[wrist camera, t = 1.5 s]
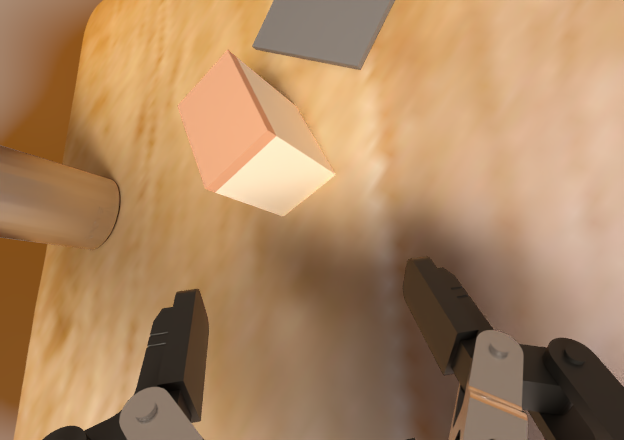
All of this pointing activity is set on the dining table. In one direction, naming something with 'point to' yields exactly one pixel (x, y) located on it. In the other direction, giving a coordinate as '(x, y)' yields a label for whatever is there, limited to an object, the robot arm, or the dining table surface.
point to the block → (251, 139)
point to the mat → (323, 29)
